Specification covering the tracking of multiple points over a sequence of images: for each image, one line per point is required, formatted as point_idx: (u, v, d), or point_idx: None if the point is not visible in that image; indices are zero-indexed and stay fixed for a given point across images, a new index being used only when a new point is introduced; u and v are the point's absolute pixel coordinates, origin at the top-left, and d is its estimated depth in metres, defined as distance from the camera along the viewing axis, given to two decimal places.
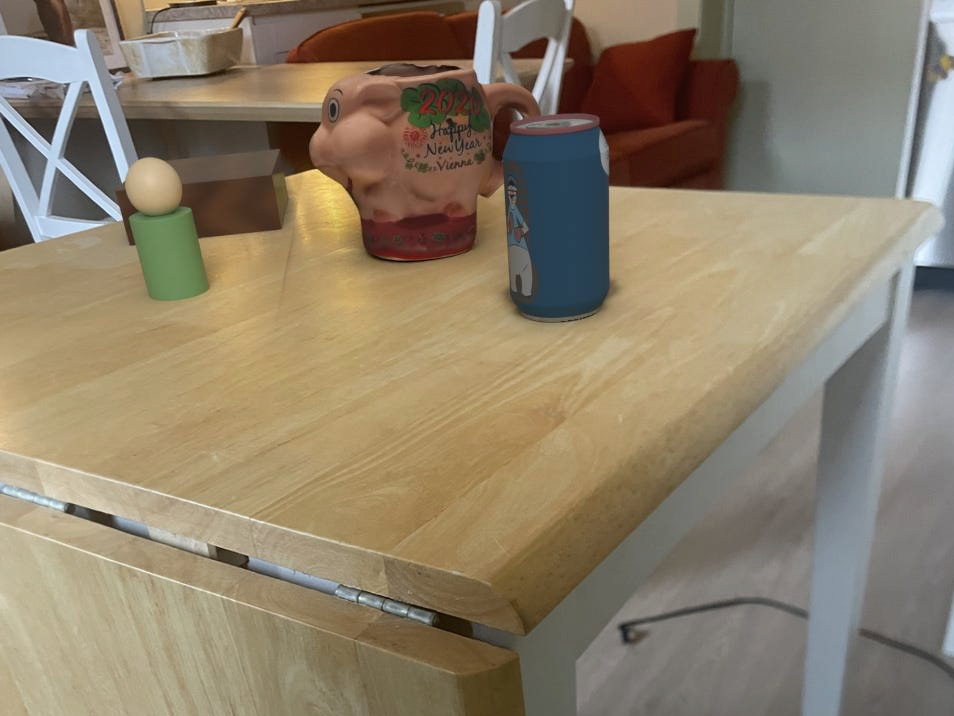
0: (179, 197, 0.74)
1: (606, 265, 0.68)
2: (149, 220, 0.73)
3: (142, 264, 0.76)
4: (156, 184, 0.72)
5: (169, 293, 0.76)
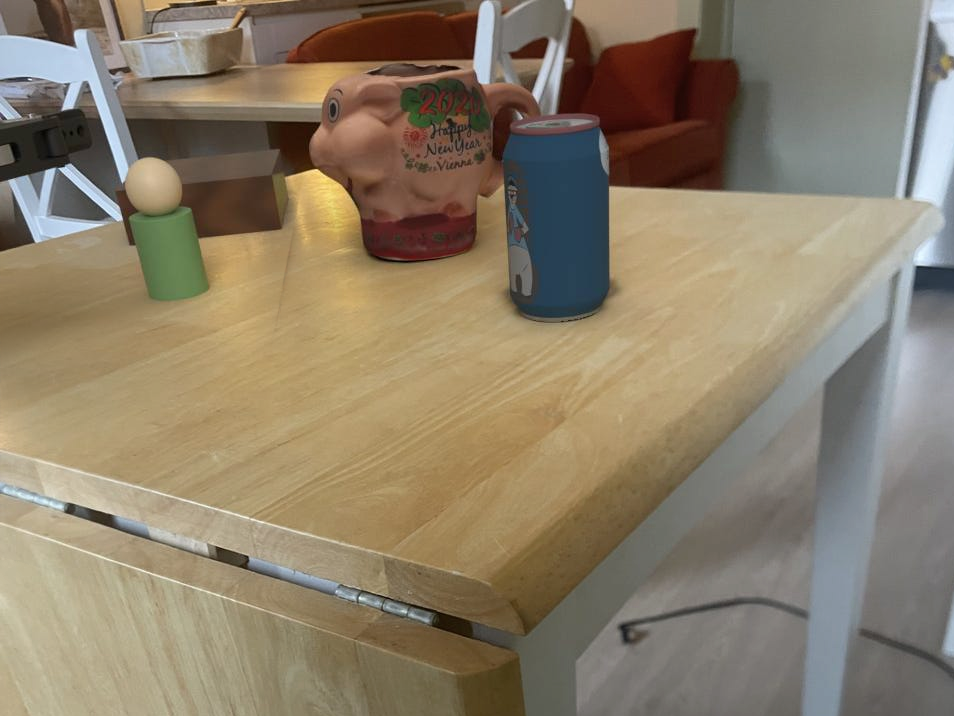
0: (179, 197, 0.74)
1: (606, 265, 0.68)
2: (149, 220, 0.73)
3: (142, 264, 0.76)
4: (156, 184, 0.72)
5: (169, 293, 0.76)
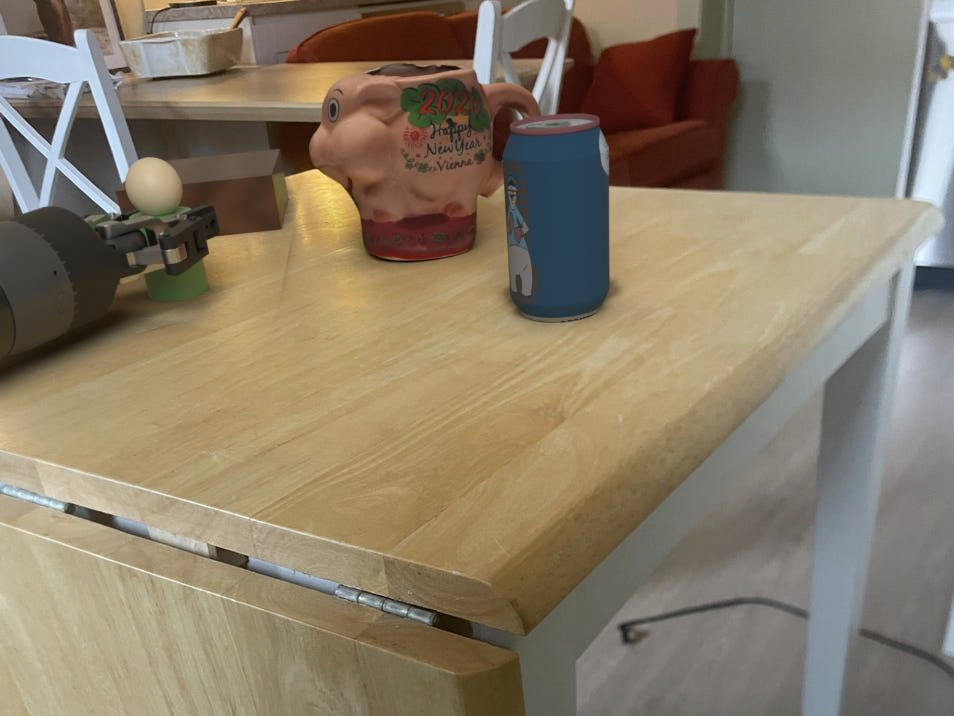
0: (179, 197, 0.74)
1: (606, 265, 0.68)
2: None
3: None
4: (156, 184, 0.72)
5: (168, 292, 0.76)
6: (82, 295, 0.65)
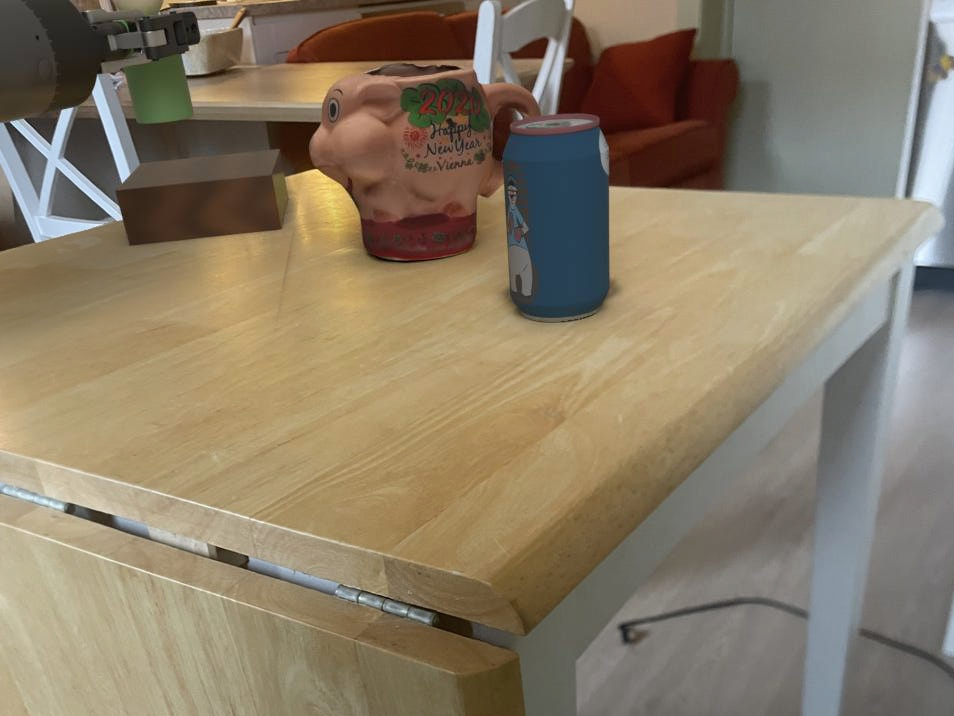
0: None
1: (606, 265, 0.68)
2: None
3: (125, 68, 0.78)
4: None
5: (151, 97, 0.79)
6: (64, 67, 0.68)
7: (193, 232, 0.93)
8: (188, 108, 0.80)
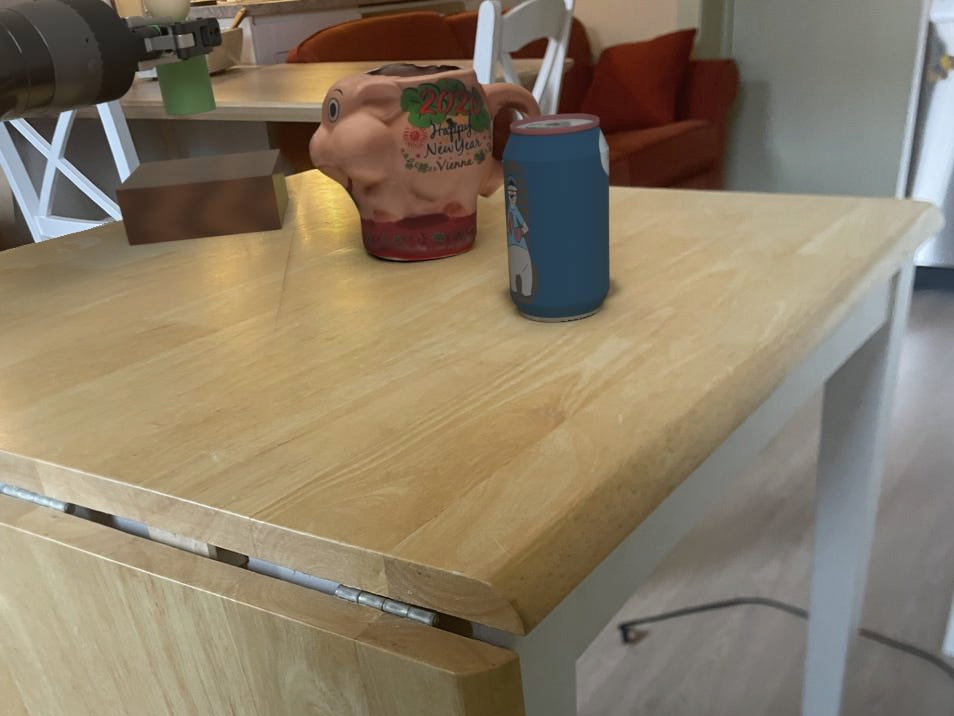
0: (188, 7, 0.88)
1: (606, 265, 0.68)
2: None
3: (157, 67, 0.90)
4: None
5: (179, 92, 0.90)
6: (108, 65, 0.79)
7: (193, 232, 0.93)
8: (211, 102, 0.92)
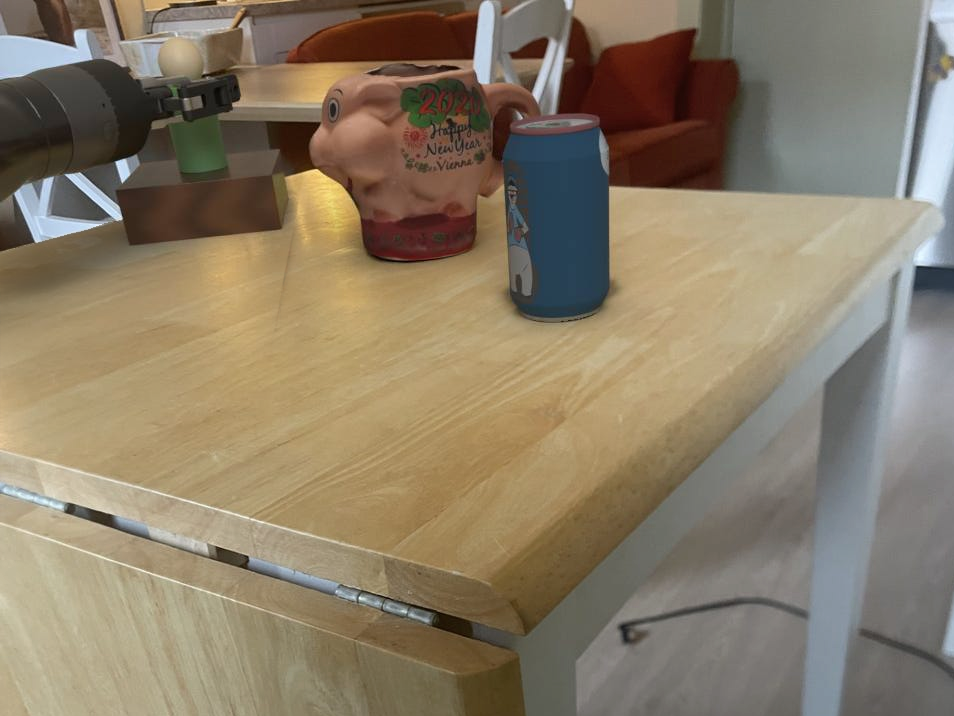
0: (201, 70, 0.91)
1: (606, 265, 0.68)
2: None
3: (171, 127, 0.93)
4: (183, 57, 0.89)
5: (192, 151, 0.93)
6: (124, 128, 0.82)
7: (193, 232, 0.93)
8: (223, 160, 0.95)
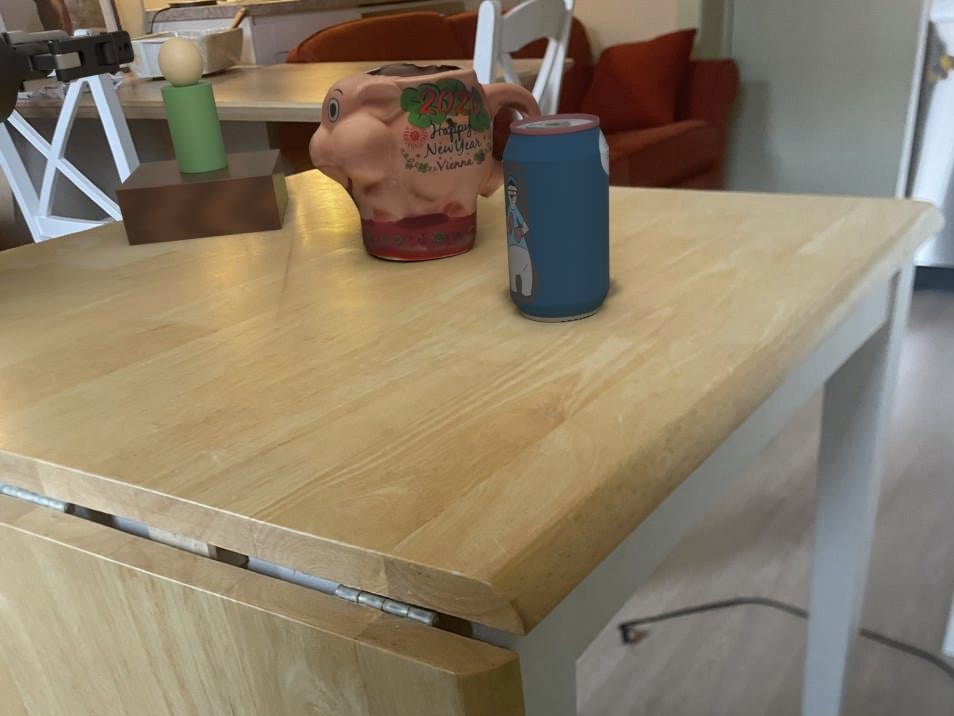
0: (201, 70, 0.91)
1: (606, 265, 0.68)
2: (177, 88, 0.90)
3: (171, 127, 0.93)
4: (183, 57, 0.89)
5: (192, 151, 0.93)
6: None
7: (193, 232, 0.93)
8: (223, 160, 0.95)
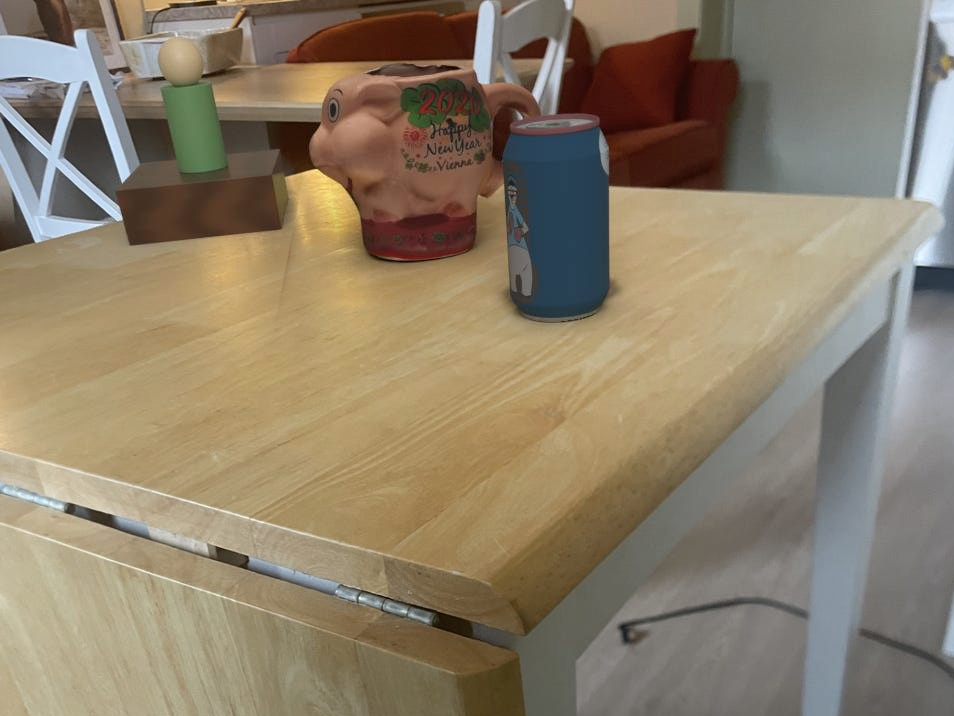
0: (201, 70, 0.91)
1: (606, 265, 0.68)
2: (177, 88, 0.90)
3: (171, 127, 0.93)
4: (183, 57, 0.89)
5: (192, 151, 0.93)
6: None
7: (193, 232, 0.93)
8: (223, 160, 0.95)
